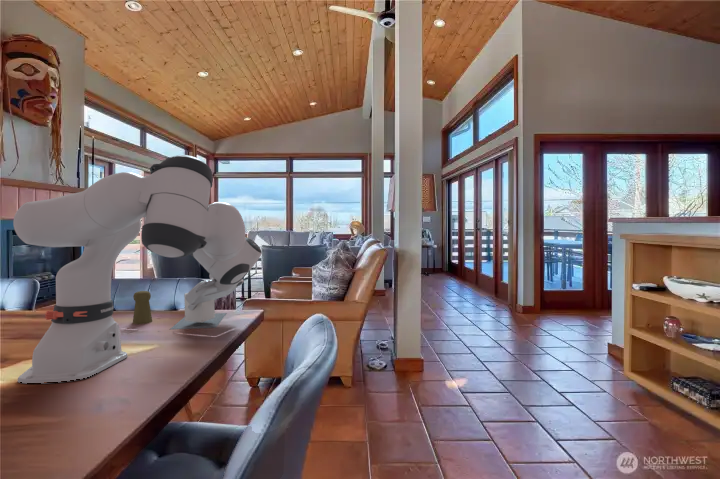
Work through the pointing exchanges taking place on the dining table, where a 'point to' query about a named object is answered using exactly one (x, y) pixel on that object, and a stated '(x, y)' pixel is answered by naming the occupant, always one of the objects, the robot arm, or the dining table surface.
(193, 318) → the cover
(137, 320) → the cork
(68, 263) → the robot arm
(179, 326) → the mat
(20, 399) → the dining table surface
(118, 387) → the dining table surface
